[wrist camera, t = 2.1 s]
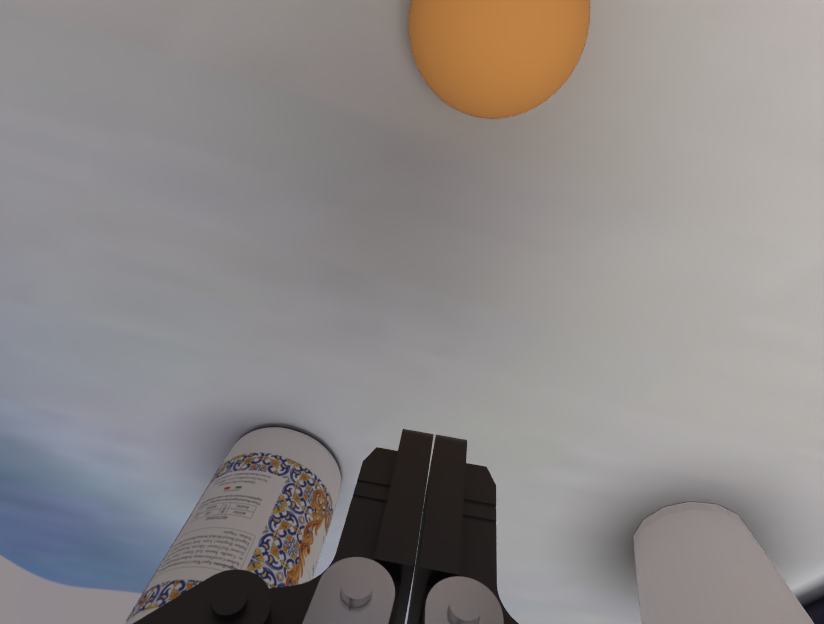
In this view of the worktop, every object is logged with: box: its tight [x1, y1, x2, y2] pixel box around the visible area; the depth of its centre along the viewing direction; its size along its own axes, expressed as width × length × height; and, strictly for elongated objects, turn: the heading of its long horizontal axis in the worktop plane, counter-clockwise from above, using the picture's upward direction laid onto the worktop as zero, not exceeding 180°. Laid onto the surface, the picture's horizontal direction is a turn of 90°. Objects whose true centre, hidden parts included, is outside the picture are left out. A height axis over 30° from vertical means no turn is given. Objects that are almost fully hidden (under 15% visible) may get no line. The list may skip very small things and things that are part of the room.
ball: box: [409, 0, 590, 119], centre depth 19 cm, size 6×6×6 cm
